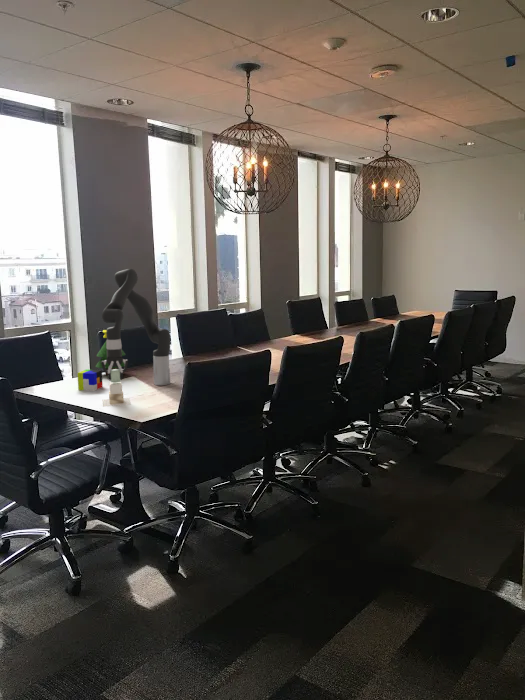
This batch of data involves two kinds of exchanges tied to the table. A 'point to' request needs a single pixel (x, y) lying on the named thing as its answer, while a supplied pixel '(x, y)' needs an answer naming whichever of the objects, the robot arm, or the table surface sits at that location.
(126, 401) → the felt mat
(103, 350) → the decorative tree
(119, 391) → the tower mid
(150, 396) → the table surface
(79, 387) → the puzzle toy
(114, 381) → the pale green block
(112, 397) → the tower base
